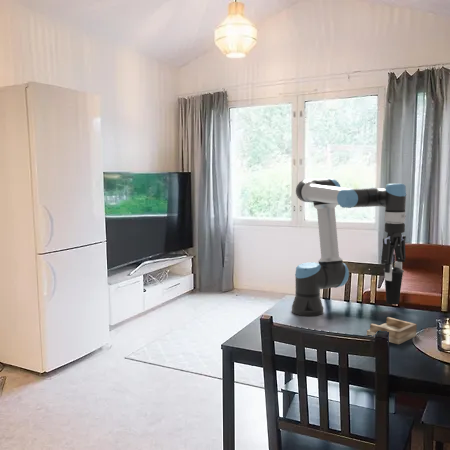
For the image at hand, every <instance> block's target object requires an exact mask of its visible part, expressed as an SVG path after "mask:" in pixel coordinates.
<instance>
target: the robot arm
mask: <svg viewBox="0 0 450 450" xmlns="http://www.w3.org/2000/svg"><path fill="white" fill-rule="evenodd" d="M406 191H407V188H406V184H405V183H387V184H386V185H385V188H383V187H382V188H381V187H378V188H377V187H370V188H349V187H341V184H340V183H339V181H338V180H336V179H335V178H328V177H324V178H323V177H322V178H321V177H320V178H319V177H318V178H305V179H302V180H301V181H299V182H298V183H297V184H296V187H295V195H296V197H297V199H299V200H300V201H301V202H305V203H313V207H314V208H315V209H316V213H317V226H318V234H319V237H318V238H319V248H320V259H318V262H315V261H314V262H313V261H311V262H308V261H307V262H303V263H300V264H298V265H297V266H296V268H295V274H294V275H295V276H294V277H295V296H294V300H293V302H292V305H291V312H292V313H293V314H295V315H298V316H302V317H317V316H321V315H323V314H324V306H323V302H322V299H321V290H324V289H332V288H336V289H337V288H340V287H343V286H345V285H346V283H348V280H349V276H350V274H349V273H350V272H349V271H350V270H349V268H348V265H347V264H346V263H344V262H343V258H342V257H340V254H339V253H340V252H339V241H338V231H337V230H338V229H337V220H336V209H335V208H337V206H340V207H341V208H346V209H351V208H367V207H382V208H385V209H384V221H385V223H384V232H385V233H387V234H386V235H387V236H386V238H382V253H381V254H382V255H381V263H382V264H383V265H384V269H385V274H384V281H385V280H387V281H392V267H393V264H392V263H393V254H395V267H398V268H400V269H402V270H403V263H405V262H406V259H407V258H406V239H407V237H406V235H402V234H404V233H405V232H406V223H405V221H406V216H407V215H406V203H407V201H406V200H407V192H406Z"/></svg>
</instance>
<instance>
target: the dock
mask: <svg viewBox="0 0 450 450" xmlns="http://www.w3.org/2000/svg"><path fill="white" fill-rule="evenodd" d="M369 325H370V327H369V329H368V330H366V336H368V335H372V336H373V335H375V334H376V332H377V331H379V330H381V331H387V332H389V343H392V344H395V345H400V344H403V343H405V342H407V341H409V340H411V339H413V338H416V337H417V332H418V331H417V328H418V327H417V326H418V325H417V323H414V322H409V321H405V320H402V319H398V318H394V317H390V316H387V317H386V322H385V323H382V324H380V325H379V324H376V323H370V324H369Z"/></svg>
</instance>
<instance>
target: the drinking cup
mask: <svg viewBox="0 0 450 450" xmlns="http://www.w3.org/2000/svg"><path fill="white" fill-rule="evenodd" d="M395 261H396V255H395V253H393V257H392V281H387V280H385V279H384V287H385V288H384V289H385V303H386V304H388V305H394V306H395V305H399V304H400V299H401V298H400V297H401V289H402V283H403V282H402V281H403V276H404V273H405V272H404V271H405V270H404V269H403V268H402V269H400V268H398V267H395ZM383 274H384V275H385V268H383Z"/></svg>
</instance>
